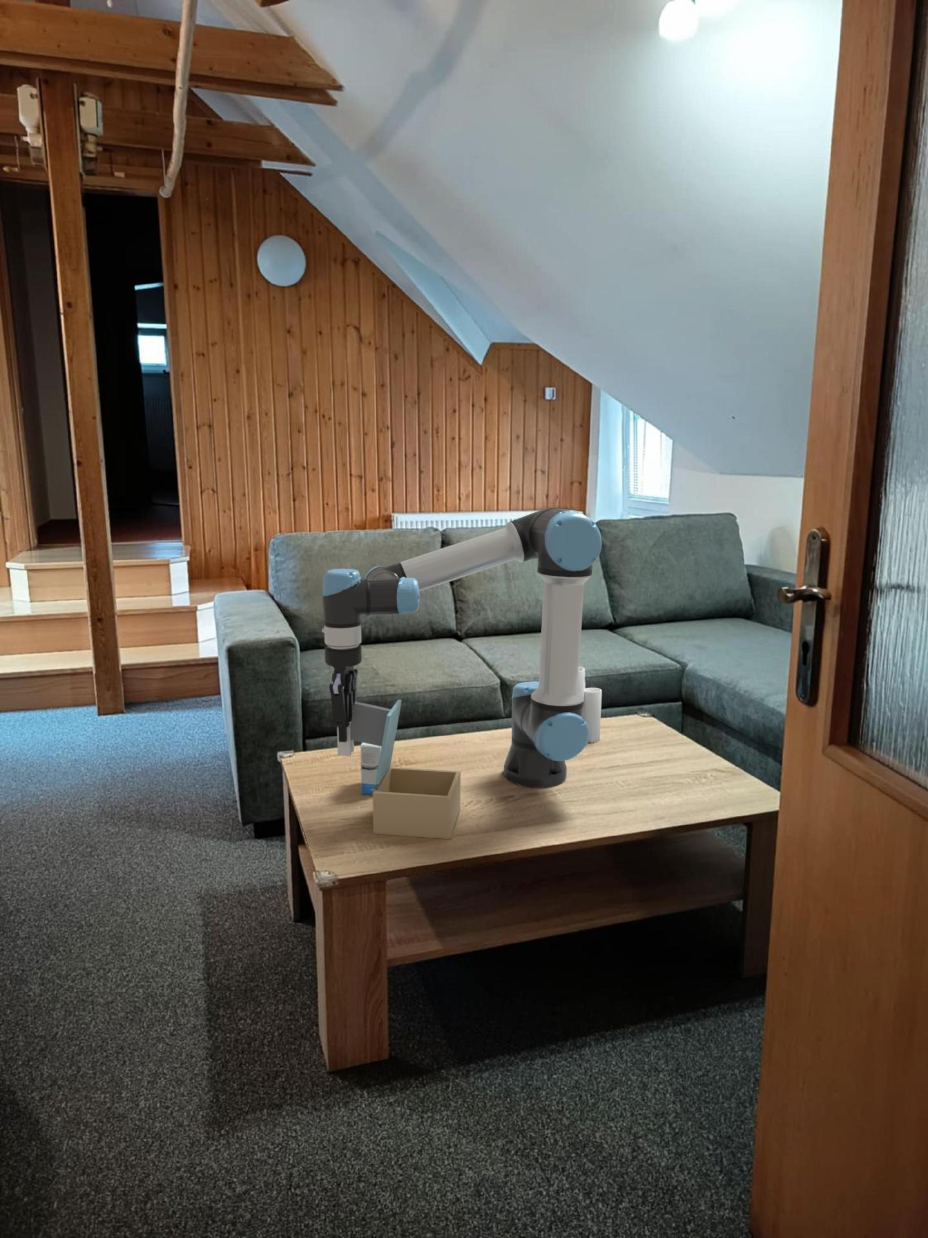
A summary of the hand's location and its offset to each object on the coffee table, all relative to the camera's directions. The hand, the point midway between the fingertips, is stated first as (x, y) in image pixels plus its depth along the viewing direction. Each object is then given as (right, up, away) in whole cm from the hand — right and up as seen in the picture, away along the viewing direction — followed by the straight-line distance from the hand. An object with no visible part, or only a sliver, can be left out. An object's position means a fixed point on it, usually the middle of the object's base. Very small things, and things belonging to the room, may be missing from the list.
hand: (345, 753), depth 180 cm
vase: (+56, -4, +51) cm, 75 cm away
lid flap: (+9, +2, -2) cm, 10 cm away
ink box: (+5, -11, +18) cm, 22 cm away
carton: (+15, -15, +1) cm, 21 cm away
